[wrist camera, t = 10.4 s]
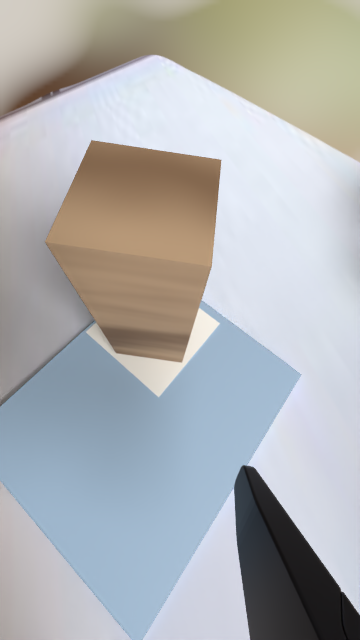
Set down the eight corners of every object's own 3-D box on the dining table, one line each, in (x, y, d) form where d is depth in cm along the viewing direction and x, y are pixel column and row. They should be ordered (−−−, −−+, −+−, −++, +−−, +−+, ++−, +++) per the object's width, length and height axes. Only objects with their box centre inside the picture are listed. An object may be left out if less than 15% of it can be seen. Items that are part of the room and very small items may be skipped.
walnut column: (182, 362, 18) (211, 266, 7) (116, 353, 18) (44, 241, 7) (189, 304, 20) (221, 160, 9) (130, 295, 20) (91, 140, 9)
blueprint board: (138, 640, 13) (137, 648, 12) (-31, 438, 16) (-36, 438, 15) (298, 375, 19) (302, 374, 18) (155, 268, 22) (155, 264, 22)
